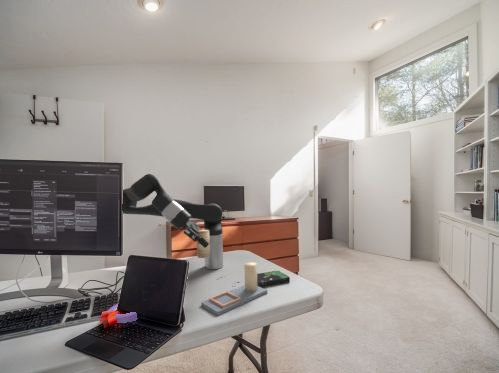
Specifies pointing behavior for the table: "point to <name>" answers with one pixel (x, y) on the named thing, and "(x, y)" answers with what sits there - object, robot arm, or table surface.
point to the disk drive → (271, 279)
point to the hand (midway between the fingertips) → (208, 244)
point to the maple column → (201, 250)
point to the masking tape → (124, 316)
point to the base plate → (236, 293)
